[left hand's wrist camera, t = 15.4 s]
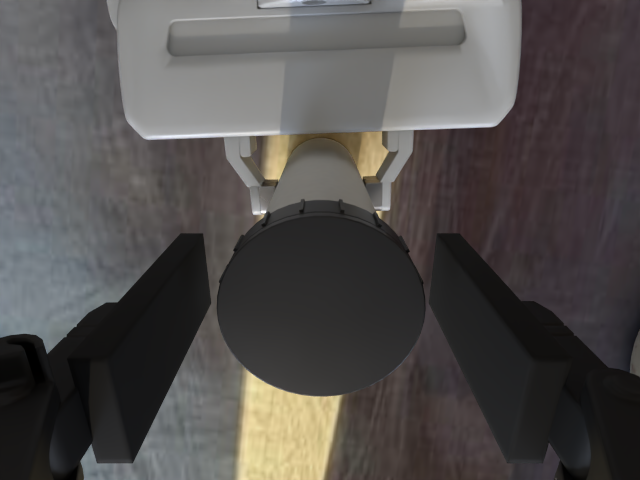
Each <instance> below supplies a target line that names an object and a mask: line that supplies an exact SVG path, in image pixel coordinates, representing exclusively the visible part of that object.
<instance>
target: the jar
mask: <svg viewBox="0 0 640 480" xmlns="http://www.w3.org/2000/svg"><path fill="white" fill-rule="evenodd" d="M301 199H305V201H311V200H332V201H339V199H342V200H343V202H344V203H348V204H352V205H355V206H357V207H360V208H362V209H365V210H367V211H369V212H370V213H372V214H373V213H374V212H375V213H376V211H375V208H374V206H373V204H372V201H371V199H370V197H369V194H368V192H367V190H366V187H365V185H364V183H363V181H362V178H361V176H360V174H359V171H358V169H357V167H356V164H355V162H354V160H353V158H352V156H351V154H350V153H349V151H348V150H347V149H346V148H345V147H344V146H343V145H342V144H340V143H338V142H337V141H334V140H332V139H328V138H314V139H310V140H307V141H305V142H303V143H301V144H300V145H299V146H297V147H296V148H295V149H294V151H293V152H292V153H291V155H290V157H289V159H288V161H287V163H286V166H285V168H284V170H283V173H282V175H281V178H280V180H279V182H278V185H277V187H276V189H275V192H274V194H273V196H272V199H271V201H270V203H269V206H268V208H267V210H266V213H267V212H268V211H269V212H270V213H272V212H274V211H276V210H277V209H280V208H282V207H285V206H287V205H290V204H294V203H298V202H301ZM266 213H265V214H266ZM264 217H265V215H264ZM264 217H263V218H264Z"/></svg>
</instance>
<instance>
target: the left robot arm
mask: <svg viewBox="0 0 640 480" xmlns="http://www.w3.org/2000/svg"><path fill="white" fill-rule="evenodd" d="M210 304H211V298H210V289H209V281H208V272H207V264H206V255H205V247H204V238H203V234H180V235H179V236H178V237H177V238H176V239H175V240H174V241H173V243H172V244H171V245H170V246H169V247H168V248H167V249H166V250H165V251H164V252H163V253H162V255H161V256H160V257H159V258H158V259H157V260H156V261H155V262H154V263H153V264H152V266H151V267H150V268H149V269H148V270H147V271H146V272H145V273H144V274H143V275H142V277H141V278H140V279H139V280H138V281H137V282H136V283H135V284H134V285H133V286H132V287H131V289H130V290H129V291H128V292H127V293H126V294H125V295H124V296H123V297H122V298H121V300H120V301H119V302H118V303H105V304H103V305H101V306H100V307H98V308H96V309H94V310H93V311H91V312H89V313H88V314H87V315H86V316H85V317H84V318H83V319H82V320H81V321H80V322H79V323H78V324H77V327H74V328H73V329H72V330H71V331H70V332H69V333H68V334H67V337H64V338H63V339H62V340H61V341H60V342H59V343H58V344H57V345H56V346H55V347H54V348H53V349H52V350H51V351H50V352H49V353H48V354H47V353H46V350H45V346H44V343H43V340H42V339H41V338H39V337H38V336H36V335H30V334H19V335H10V336H6V337H2V338H0V480H84V475H83V469H82V465H81V462H80V461H81V459H82V457H83V456H84V454H85V453H86V451H87V449H88V448H89V446H90V445H91V444H92V447H93V451H94V454H95V458H96V461H97V463H133V462H134V460H135V457H136V455H137V453H138V451H139V449H140V447H141V445H142V443H143V441H144V439H145V437H146V435H147V433H148V431H149V429H150V427H151V425H152V423H153V421H154V419H155V417H156V415H157V413H158V411H159V408H160V406H161V404H162V402H163V400H164V398H165V396H166V394H167V392H168V390H169V388H170V386H171V384H172V382H173V380H174V378H175V376H176V374H177V372H178V370H179V368H180V366H181V364H182V362H183V359H184V357H185V355H186V353H187V351H188V349H189V347H190V345H191V343H192V341H193V339H194V337H195V335H196V333H197V331H198V329H199V327H200V325H201V323H202V321H203V319H204V317H205V315H206V313H207V310H208V308H209V306H210ZM429 304H430V306H431V308H432V310H433V313H434V315H435V317H436V319H437V321H438V323H439V325H440V327H441V329H442V331H443V333H444V335H445V337H446V339H447V341H448V343H449V345H450V347H451V349H452V351H453V353H454V355H455V357H456V359H457V362H458V364H459V366H460V368H461V370H462V372H463V374H464V376H465V378H466V380H467V382H468V384H469V386H470V388H471V390H472V392H473V394H474V396H475V398H476V400H477V402H478V404H479V406H480V408H481V411H482V413H483V415H484V417H485V419H486V421H487V423H488V425H489V427H490V429H491V431H492V433H493V435H494V437H495V439H496V441H497V443H498V445H499V447H500V449H501V451H502V453H503V455H504V457H505V460H506V462H507V463H543V461H544V458H545V454H546V451H547V447H548V444H549V443H550V444H551V446H552V447H553V449H554V450H555V452H556V454H557V455H558V457H559V458H560V462H559V465H558V469H557V472H556V475H555V478H554V480H640V377H639V376H637V375H635V374H632V373H629V372H626V371H623V370H619V369H613V368H608V367H607V366H606V365H605V364H604V363H603V362H602V361H601V360H600V359H599V358H598V357H597V356H596V355H595V354H594V353H593V352H592V351H591V350H590V349H589V348H588V347H587V346H586V345H585V344H584V343H583V342H582V341H581V340H580V339H579V338H578V337H577V336H574V333H573V332H572V331H571V330H570V329H569V328H568V327H567V326H564V323H563V322H562V321H561V320H560V319H559V318H558V317H557V316H556V315H555V314H554V313H553V312H552V311H550V310H548V309H547V308H545V307H543V306H541V305H540V304H538V303H536V302H534V301H520V300H519V298H518V297H517V296H516V295H515V294H514V293H513V292H512V291H511V290H510V289H509V287H508V286H507V285H506V284H505V283H504V282H503V281H502V280H501V279H500V278H499V277H498V275H497V274H496V273H495V272H494V271H493V270H492V269H491V268H490V267H489V266H488V264H487V263H486V262H485V261H484V260H483V259H482V258H481V257H480V256H479V255H478V253H477V252H476V251H475V250H474V249H473V248H472V247H471V246H470V245H469V244H468V243H467V241H466V240H465V239H464V238H463V237H462V236H461V235H460V234H437V238H436V247H435V255H434V264H433V272H432V281H431V289H430V298H429Z"/></svg>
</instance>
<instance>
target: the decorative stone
mask: <svg viewBox="0 0 640 480" xmlns="http://www.w3.org/2000/svg"><path fill="white" fill-rule="evenodd" d="M630 373H632V374H635V375H637V376H639V377H640V330H639V332H638V335H637V337H636V340H635V343H634V347H633V351H632V356H631V362H630Z"/></svg>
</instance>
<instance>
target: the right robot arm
mask: <svg viewBox="0 0 640 480" xmlns="http://www.w3.org/2000/svg"><path fill="white" fill-rule="evenodd" d="M107 5H108V10H109V15H110V18H111V21H112V23H113V25H114V27H115V29H116V31H117V51H118V66H119V78H120V86H121V94H122V101H123V108H124V113H125V117H126V120H127V122H128V123H129V124H130V125H131V126H132V127H133V128H134V129H135V130H136V132H137V133H138V134H139V135H141V136H142V137H143V138H144V139H147V140H155V139H182V138H209V137H224V143H225V151H226V158H227V160H228V161H229V162H230V164H231V165H232V166H233V168H234V169H235V171H236V172H237V173H238V175H239V176H240V177H241V179H242V180H243V181H244V183H245V184H246V186H247V187H250V195H251V204H252V212H253V215H262V214H265V213H266V210H267V208H268V206H269V203H270V201H271V199H272V196H273V194H274V192H275V189H276V187H277V185H278V180H265V178H264V177H263V175H262V174H261V172H260V171H259V169H258V168H257V166H256V165H255V163H254V162H253V160H252V159H251V157H250V155H251V154H252V153H253V152H254V151H255V150H256V149H257V147H256V136H263V135H290V134H317V133H344V132H371V131H382V145H383V146H384V147H385V148H386V149H387V150H388V151H389V153H388V154H387V156H386V158H385V160H384V161H383V163H382V165H381V167H380V168H379V170H378V172H377V174H376V176H364V177H363V183H364V185H365V187H366V190H367V192H368V194H369V197H370V199H371V201H372V204H373V206H374V208H375V211H383V210H390V206H391V182H394V180H395V179H396V177H397V175H398V174H399V172H400V171H401V169H402V167H403V166H404V164H405V163H406V161H407V159H408V158H409V156H410V155H411V153H412V152H413V133H414V130H425V129H452V128H479V127H494V126H496V125H498V124H499V123H500V122H501V121H502V120H503V118H504V117H505V116H506V115H507V113H508V112H509V111H510V110H511V109H512V107H513V105H514V102H515V99H516V93H517V87H518V79H519V69H520V57H521V37H522V3H521V0H107Z"/></svg>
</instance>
